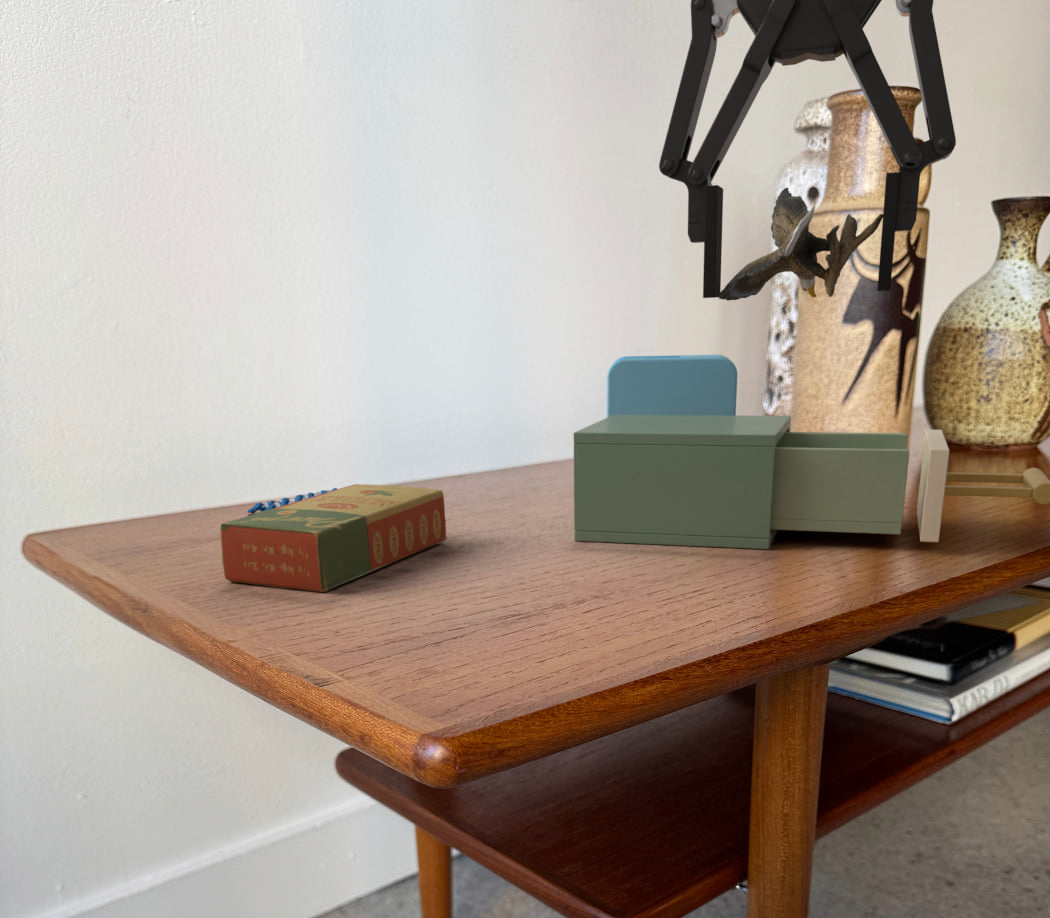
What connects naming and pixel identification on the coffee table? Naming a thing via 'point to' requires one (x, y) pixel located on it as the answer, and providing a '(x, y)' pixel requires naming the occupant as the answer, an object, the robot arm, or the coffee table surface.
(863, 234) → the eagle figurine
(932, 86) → the robot arm
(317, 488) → the coffee table surface
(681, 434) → the cabinet
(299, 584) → the carton
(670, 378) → the blue rounded panel
